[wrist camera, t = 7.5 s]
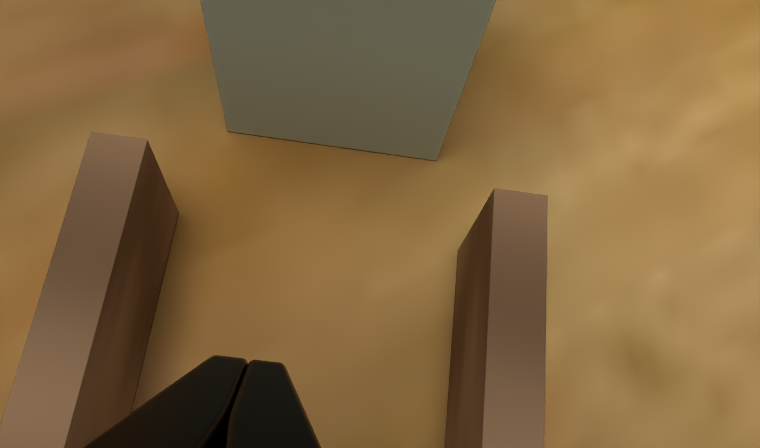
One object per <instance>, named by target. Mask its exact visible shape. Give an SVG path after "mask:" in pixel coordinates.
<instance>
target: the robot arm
mask: <svg viewBox="0 0 760 448" xmlns="http://www.w3.org/2000/svg"><path fill="white" fill-rule="evenodd" d="M82 448H321V446H320V444H319V442H318V440H317V437H316V435H315V433H314V431H313V428H312V426H311V424H310V421H309V419H308V417H307V415H306V412H305V410H304V408H303V406H302V403H301V401H300V399H299V397H298V394H297V392H296V390H295V388H294V385H293V383H292V381H291V378H290V376H289V374H288V372H287V369H286V367H285V366H284V365H283V364H282V363H278V362H269V361H261V360H252V361H250V362H249V364H248V363H247V361H246V360H245V359H242V358H235V357H227V356H218V355H215V356H212V357H210V358H209V359H207V360H206V361H204V362H203V363H202V364H200V365H199V366H197V367H196V368H194V369H193V370H192V371H190V372H189V373H187V374H186V375H184V376H183V377H182V378H180V379H179V380H177V381H176V382H174V383H173V384H172V385H170V386H169V387H167V388H166V389H165V390H163V391H162V392H160V393H159V394H157V395H156V396H155V397H153V398H152V399H150V400H149V401H147V402H146V403H145V404H143V405H142V406H140V407H139V408H137V409H136V410H135V411H133V412H132V413H130V414H129V415H127V416H126V417H125V418H123V419H122V420H120V421H119V422H117V423H116V424H115V425H113V426H112V427H110V428H109V429H107V430H106V431H105V432H103V433H102V434H100V435H99V436H97V437H96V438H95V439H93V440H92V441H90V442H89V443H87V444H86V445H85V446H83V447H82Z"/></svg>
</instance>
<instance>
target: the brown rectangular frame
mask: <svg viewBox="0 0 760 448" xmlns="http://www.w3.org/2000/svg"><path fill="white" fill-rule="evenodd" d="M547 205H548V196H546V195H539V194H532V193H525V192H518V191H510V190H503V189H496V188H494V190H493V191H492V193H491V195H490V197H489V198H488V200H487V202H486V203H485V205H484V207H483V209H482V210H481V212H480V214H479V215H478V217H477V219H476V221H475V222H474V224H473V226H472V227H471V229H470V231H469V233H468V234H467V236H466V238H465V239H464V241H463V243H462V245H461V246H460V248H459V250H458V258H457V272H456V287H455V302H454V317H453V332H452V347H451V362H450V377H449V392H448V407H447V422H446V437H445V448H544V422H545V350H546V277H547ZM177 217H178V210H177V208H176V205H175V203H174V201H173V198H172V196H171V194H170V191H169V189H168V187H167V184H166V182H165V180H164V177H163V175H162V173H161V170H160V168H159V166H158V163H157V161H156V159H155V156H154V154H153V152H152V149H151V147H150V145H149V142H148V140H147V139H140V138H133V137H126V136H118V135H111V134H104V133H97V132H91V133H90V136H89V139H88V143H87V146H86V149H85V152H84V156H83V159H82V162H81V165H80V169H79V172H78V175H77V178H76V182H75V185H74V188H73V191H72V195H71V198H70V201H69V204H68V208H67V211H66V214H65V217H64V221H63V224H62V227H61V230H60V234H59V237H58V240H57V243H56V246H55V250H54V253H53V256H52V259H51V263H50V266H49V269H48V272H47V276H46V279H45V282H44V285H43V289H42V292H41V295H40V298H39V302H38V305H37V308H36V311H35V315H34V318H33V321H32V324H31V328H30V331H29V334H28V337H27V341H26V344H25V347H24V350H23V354H22V357H21V360H20V363H19V366H18V370H17V373H16V376H15V379H14V383H13V386H12V389H11V392H10V396H9V399H8V402H7V405H6V409H5V412H4V415H3V418H2V422H1V425H0V448H82V447H83V446H85V445H86V444H87V443H89V442H90V441H92V440H93V439H95V438H96V437H97V436H99V435H100V434H102V433H103V432H105V431H106V430H107V429H109V428H110V427H112V426H113V425H115V424H116V423H117V422H119V421H120V420H122V419H123V418H125V417H126V416H127V415H129V414H130V413H131V410H132V405H133V401H134V397H135V393H136V389H137V385H138V380H139V376H140V372H141V368H142V364H143V359H144V355H145V351H146V347H147V343H148V339H149V334H150V330H151V326H152V322H153V318H154V314H155V309H156V305H157V301H158V297H159V293H160V288H161V284H162V280H163V276H164V272H165V268H166V263H167V259H168V255H169V251H170V247H171V242H172V238H173V234H174V230H175V226H176V222H177Z"/></svg>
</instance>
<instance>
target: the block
mask: <svg viewBox="0 0 760 448" xmlns="http://www.w3.org/2000/svg"><path fill="white" fill-rule="evenodd" d="M200 1H201V6H202V11H203V15H204V20H205V25H206V30H207V35H208V40H209V44H210V49H211V54H212V59H213V64H214V69H215V73H216V78H217V83H218V88H219V93H220V98H221V102H222V107H223V112H224V117H225V122H226V127H227V131H230V132H237V133H244V134H251V135H258V136H265V137H272V138H279V139H286V140H293V141H300V142H307V143H315V144H322V145H329V146H336V147H343V148H350V149H357V150H364V151H371V152H378V153H385V154H392V155H399V156H406V157H413V158H420V159H427V160H435V161H436V160H437V158H438V155H439V152H440V150H441V147H442V144H443V142H444V139H445V136H446V133H447V131H448V128H449V125H450V123H451V120H452V117H453V115H454V112H455V109H456V107H457V104H458V101H459V99H460V96H461V93H462V90H463V88H464V85H465V82H466V80H467V77H468V74H469V72H470V69H471V66H472V64H473V61H474V58H475V56H476V53H477V50H478V47H479V45H480V42H481V39H482V37H483V34H484V31H485V29H486V26H487V23H488V21H489V18H490V15H491V13H492V10H493V7H494V4H495V2H496V0H200Z"/></svg>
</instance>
